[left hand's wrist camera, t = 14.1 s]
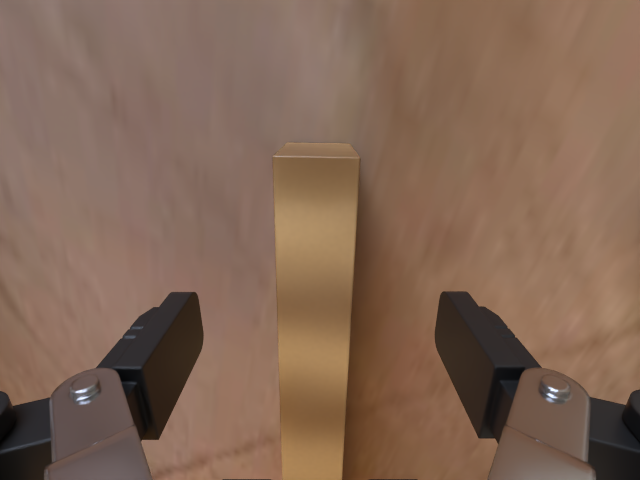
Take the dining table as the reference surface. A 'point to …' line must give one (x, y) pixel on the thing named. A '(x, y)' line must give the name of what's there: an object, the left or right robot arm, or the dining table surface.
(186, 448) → the dining table surface
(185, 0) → the dining table surface
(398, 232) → the dining table surface
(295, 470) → the bar
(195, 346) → the left robot arm
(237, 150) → the dining table surface
